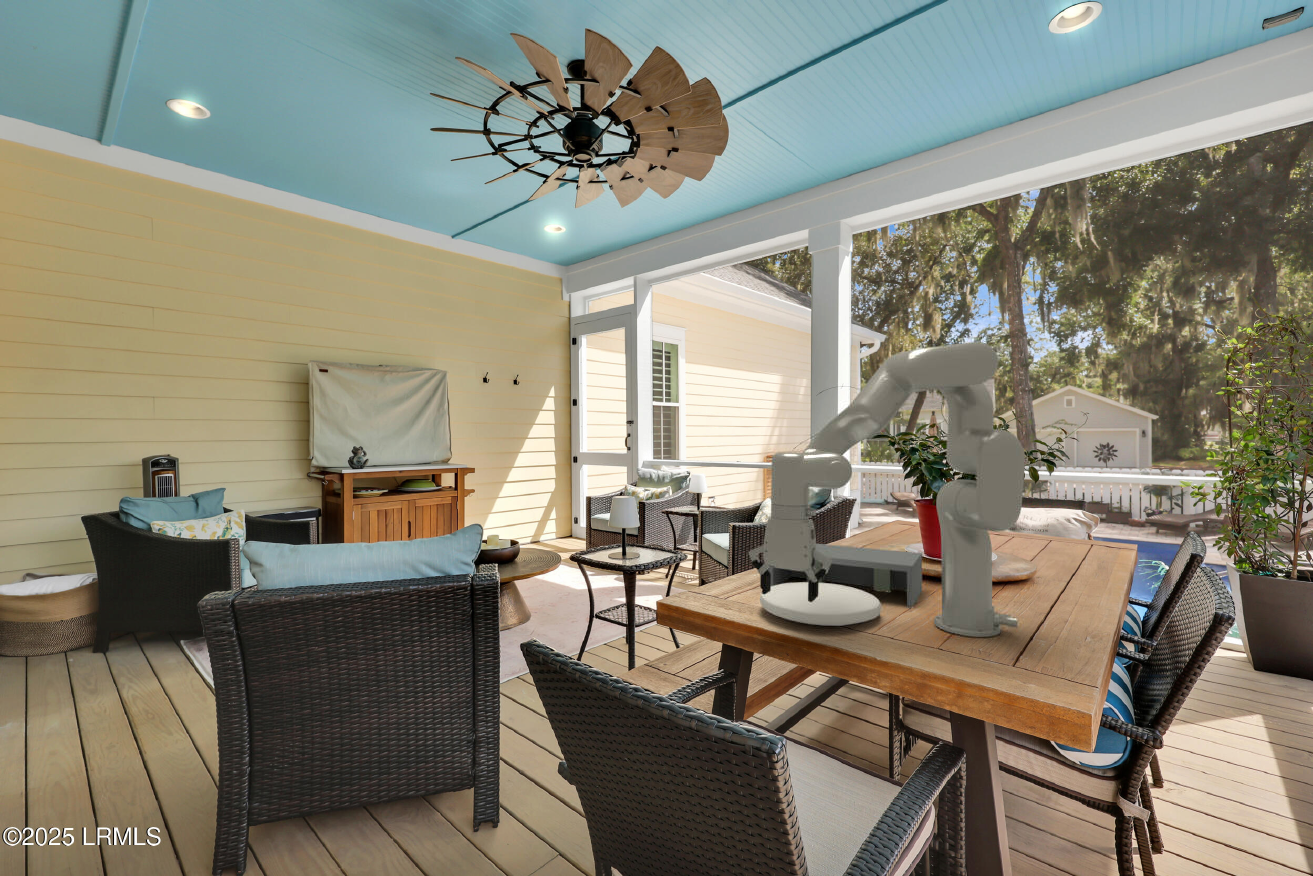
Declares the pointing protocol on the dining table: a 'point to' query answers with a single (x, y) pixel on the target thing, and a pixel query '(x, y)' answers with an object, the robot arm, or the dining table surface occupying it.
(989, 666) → the dining table surface
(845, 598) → the plate
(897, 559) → the shelf
